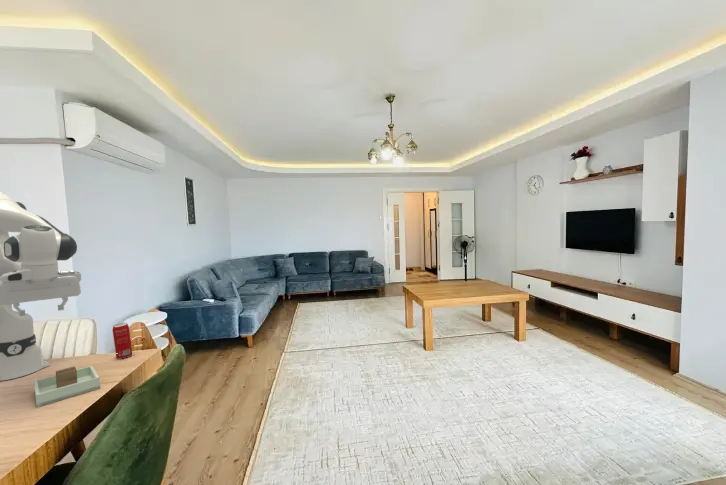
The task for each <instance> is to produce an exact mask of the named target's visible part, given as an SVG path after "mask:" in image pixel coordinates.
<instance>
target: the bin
mask: <svg viewBox="0 0 726 485" xmlns="http://www.w3.org/2000/svg"><path fill="white" fill-rule="evenodd" d="M76 370H77V383H75V384H71V385H68V386H64V387H61V388H57V384H56V374H55V375H50V376H46V377H43V378H39V379H34V380H33V385H34V387H33V388H34V389H33V390H34V396H35V405H36V408H40V407H43V406H46V405H50V404H54V403H56V402H59V401H62V400H66V399H70V398H73V397H76V396H79V395H82V394H85V393H90V392H92V391H96V390H100V389H101V384H100V383H101V382H100V376H99V375H98V373H97V371H96V369H95V368H94V366H93V365H89V366H85V367H82V368H81V367H80V368H76Z"/></svg>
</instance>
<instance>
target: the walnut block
mask: <svg viewBox="0 0 726 485" xmlns="http://www.w3.org/2000/svg"><path fill="white" fill-rule="evenodd" d="M55 375H56V384H57V388H61V387H64V386H68V385H71V384H75V383H77V368H76V366H71V367H67V368H62V369H59V370H55Z"/></svg>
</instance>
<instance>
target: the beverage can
mask: <svg viewBox="0 0 726 485" xmlns="http://www.w3.org/2000/svg"><path fill="white" fill-rule="evenodd" d="M112 336H113V344H114V351H115V358H116V359H117V360H123V359H122V358H125V359H127V358H126V357H128V358H130V357H131V356H132V355H133V350H132V349H133V348H132V342H131V333H130V327H129V324H128V322H121V323H117V324H114V325H113V326H112ZM116 353H118V354H116ZM129 356H130V357H129Z"/></svg>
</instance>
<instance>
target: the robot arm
mask: <svg viewBox="0 0 726 485" xmlns="http://www.w3.org/2000/svg"><path fill="white" fill-rule="evenodd" d="M9 233H18V234H16V235H12V236H10V235H9ZM77 251H78V245H77V241H76V240H75V239H74V238H73V237H72V236H70V235H69V234H68V233H65V232H62V231H61V230H60V229H58V228H57V227H56V226H55V225H53V224H52V223H51V222H49V221H48V220H47V219H46V218H44V217H42V216H40V215H37V214H34V213H33V212H31V211H29V210H27V207H26V205H25V204H23V203H22V202H19V201H16V200H15V199H14V198H12V197H11V196H9V195H8V194H6V193H4V192H2V191H0V381H7V380H8V381H9V380H12V379H17V378H22V377H23V376H27V375H28V376H29V375H31V374H33V373H36V372H37V371H39V370H41V369H44V368H47V367H49V366H50V362H48V361H46V360H44V359H43V351H42V349H43V348H42V346H39V345H37V344H36V343H37V337H36V334H35V332H34V319H33V318H34V317H32V315H30V314H29V313H26V309H21V308H20V304H23V303H29V302H36V301H37V302H38V301H44V300H45V301H47V300H53V299H61V300H62V302H61V304H57V311H65V305H66V304H67V302H68V301H69V298H70V297H77V296H79V295H81V293H82V290H81V285H80V284H81V283H80V282H81V280H82V274H81V273H80V272H79V271H76V270H67V271H66V270H64V271H63V270H62V271H60V270H59V264H58V263H59V262H58V261H68V260H70V259H71V258H72V257H73V256H74V255H75V254H76V253H77ZM12 305H13V306H12ZM13 308H14V309H15V310H14V309H13Z"/></svg>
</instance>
